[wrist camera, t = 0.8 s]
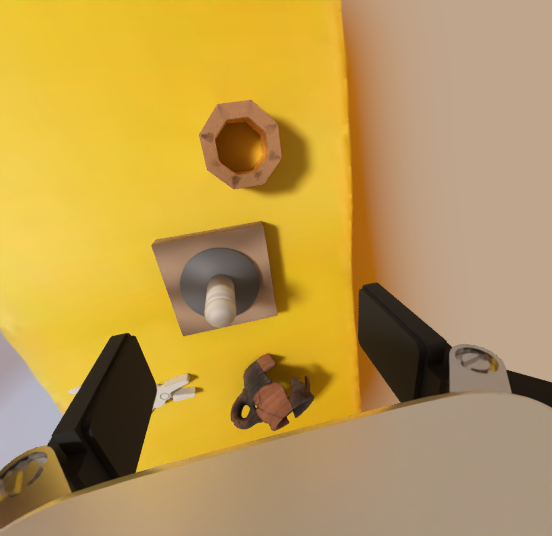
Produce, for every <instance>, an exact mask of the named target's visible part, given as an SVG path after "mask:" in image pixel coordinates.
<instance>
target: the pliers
mask: <svg viewBox="0 0 552 536" xmlns="http://www.w3.org/2000/svg"><path fill="white" fill-rule="evenodd" d="M189 379H190V375H189V374H188V373H187V374H184V375H181V376H178V377H175V378H172V379H169V380H167V381H166V382H165V384H163V385H160V384H156V386H157V395H156V398H155V402H154V406H153V409H154V408H159V407H161V406H163V405H164V404H165V402H166V400H168V399H170V398H173V400H174V402H175V401H179V400H183V399H187V398H190V397H194V396H195V392H196V388H195V387H189V388H180V387H182V386H184V385H185V384H187V383H189ZM81 386H82V385H81ZM81 386H78V387H76V388H73V389H71V390H69V392H68V393H69V394H70V395H71V394H76V393H77V392H78V391H79V389H80V387H81ZM178 388H180V389H178ZM153 409H152V410H153Z"/></svg>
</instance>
